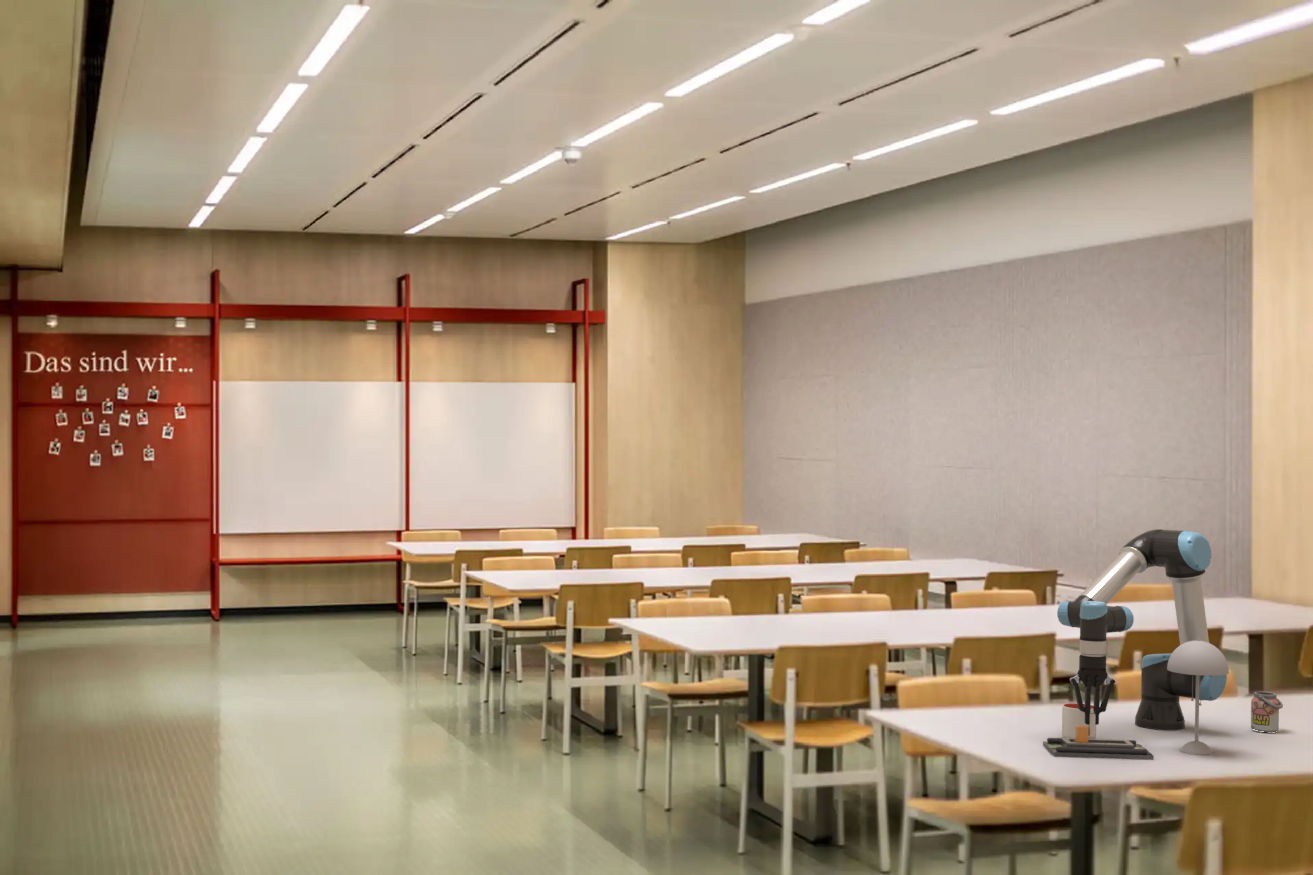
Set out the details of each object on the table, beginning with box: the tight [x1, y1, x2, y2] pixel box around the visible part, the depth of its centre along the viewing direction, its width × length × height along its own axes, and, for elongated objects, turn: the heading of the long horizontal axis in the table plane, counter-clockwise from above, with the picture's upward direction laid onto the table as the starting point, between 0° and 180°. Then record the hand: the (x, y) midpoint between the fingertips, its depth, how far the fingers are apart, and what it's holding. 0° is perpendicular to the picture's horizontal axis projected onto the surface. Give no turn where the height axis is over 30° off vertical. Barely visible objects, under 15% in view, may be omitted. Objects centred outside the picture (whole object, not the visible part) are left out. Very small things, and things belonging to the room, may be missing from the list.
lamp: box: [1167, 639, 1230, 756], centre depth 439 cm, size 17×17×33 cm
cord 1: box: [1046, 737, 1137, 745], centre depth 441 cm, size 26×1×1 cm, turn 86°
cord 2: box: [1056, 747, 1149, 754], centre depth 428 cm, size 26×1×1 cm, turn 86°
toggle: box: [1074, 725, 1089, 743], centre depth 435 cm, size 4×3×6 cm
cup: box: [1061, 702, 1097, 739], centre depth 455 cm, size 10×10×10 cm
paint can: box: [1250, 691, 1284, 733], centre depth 473 cm, size 9×8×12 cm
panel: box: [1042, 737, 1155, 761], centre depth 435 cm, size 28×16×3 cm, turn 86°
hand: (1091, 735), depth 435 cm, fingers closed
